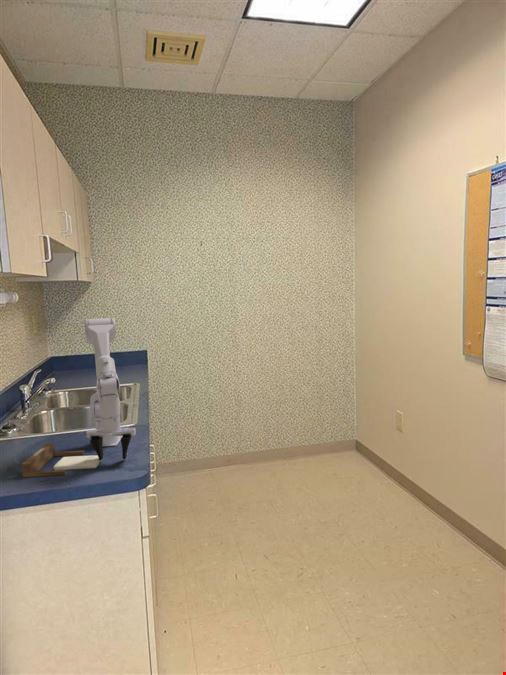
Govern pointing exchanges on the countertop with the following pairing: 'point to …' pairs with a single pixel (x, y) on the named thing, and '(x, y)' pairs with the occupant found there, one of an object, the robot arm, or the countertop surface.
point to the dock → (44, 461)
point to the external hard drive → (77, 462)
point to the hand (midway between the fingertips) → (113, 458)
